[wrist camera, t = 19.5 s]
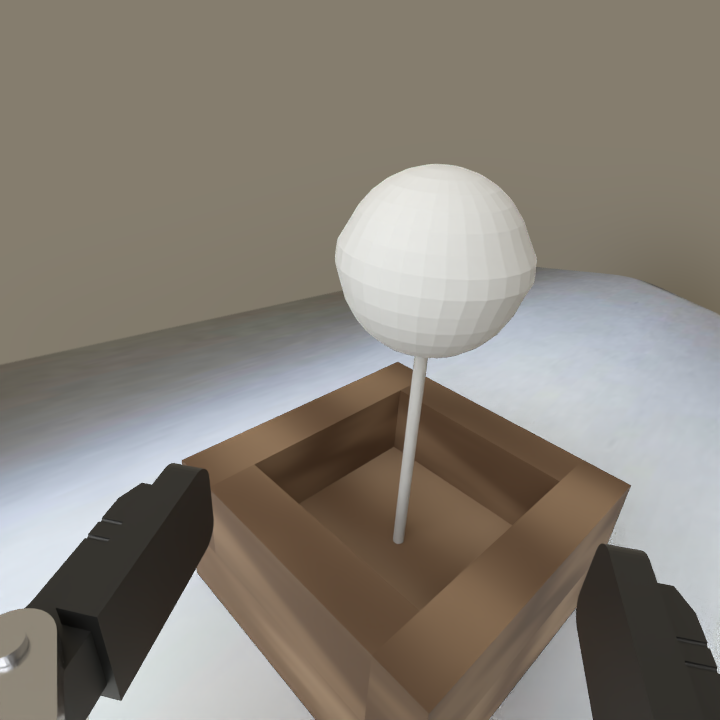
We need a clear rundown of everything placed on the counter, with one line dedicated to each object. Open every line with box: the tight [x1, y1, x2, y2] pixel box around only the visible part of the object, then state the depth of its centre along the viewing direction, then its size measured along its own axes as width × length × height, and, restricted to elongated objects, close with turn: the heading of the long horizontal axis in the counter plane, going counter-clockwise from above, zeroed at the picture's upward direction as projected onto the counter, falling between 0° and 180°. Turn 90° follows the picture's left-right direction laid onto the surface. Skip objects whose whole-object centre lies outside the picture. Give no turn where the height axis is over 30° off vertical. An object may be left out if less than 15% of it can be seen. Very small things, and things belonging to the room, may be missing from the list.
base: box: [182, 362, 631, 720], centre depth 22 cm, size 12×12×6 cm
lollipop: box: [335, 164, 537, 544], centre depth 19 cm, size 6×6×15 cm
